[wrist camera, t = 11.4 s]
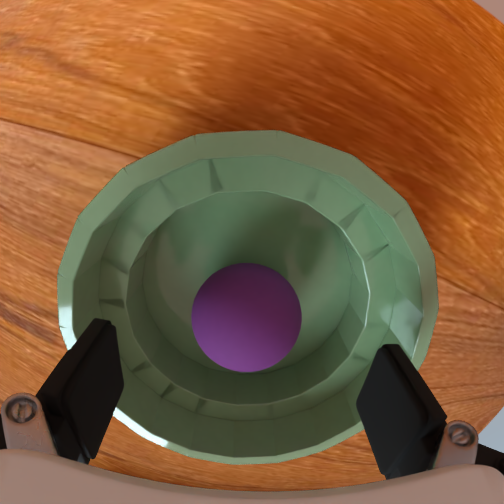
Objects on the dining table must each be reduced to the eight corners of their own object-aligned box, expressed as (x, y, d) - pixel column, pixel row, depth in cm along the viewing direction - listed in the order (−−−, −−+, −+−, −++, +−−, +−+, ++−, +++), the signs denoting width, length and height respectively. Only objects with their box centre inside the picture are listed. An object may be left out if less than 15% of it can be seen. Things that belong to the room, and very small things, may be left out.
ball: (180, 286, 16) (156, 339, 11) (254, 228, 15) (258, 265, 10) (239, 347, 17) (238, 409, 13) (311, 299, 16) (334, 354, 12)
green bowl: (65, 265, 16) (7, 311, 10) (272, 78, 13) (289, 36, 8) (230, 421, 20) (228, 488, 14) (420, 301, 17) (471, 353, 12)
